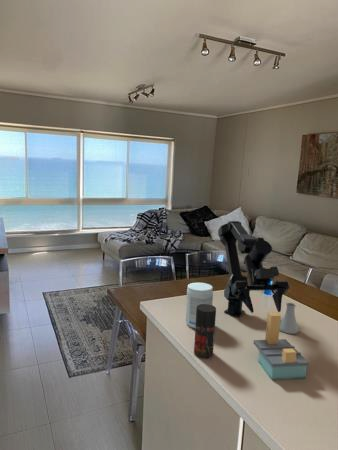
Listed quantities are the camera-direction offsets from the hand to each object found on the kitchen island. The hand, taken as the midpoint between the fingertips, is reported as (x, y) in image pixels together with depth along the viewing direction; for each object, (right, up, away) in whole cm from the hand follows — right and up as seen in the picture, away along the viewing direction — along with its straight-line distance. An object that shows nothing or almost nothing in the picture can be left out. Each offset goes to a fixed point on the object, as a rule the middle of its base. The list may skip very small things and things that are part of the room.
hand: (266, 312), depth 106 cm
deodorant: (-21, -12, -3) cm, 24 cm away
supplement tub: (-20, -9, +17) cm, 28 cm away
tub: (+1, -14, -10) cm, 17 cm away
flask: (+13, -11, +16) cm, 23 cm away
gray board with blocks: (+1, -10, -9) cm, 13 cm away
